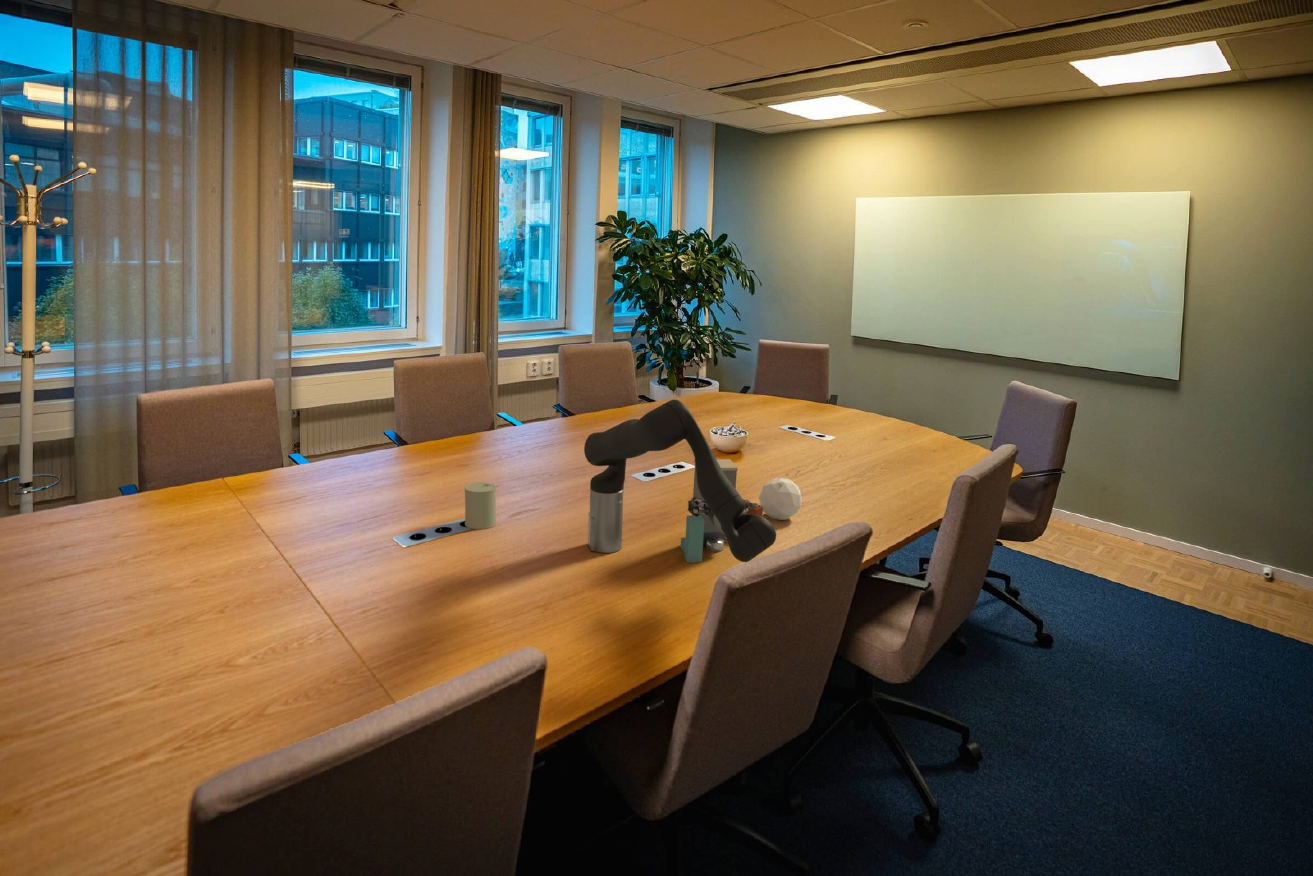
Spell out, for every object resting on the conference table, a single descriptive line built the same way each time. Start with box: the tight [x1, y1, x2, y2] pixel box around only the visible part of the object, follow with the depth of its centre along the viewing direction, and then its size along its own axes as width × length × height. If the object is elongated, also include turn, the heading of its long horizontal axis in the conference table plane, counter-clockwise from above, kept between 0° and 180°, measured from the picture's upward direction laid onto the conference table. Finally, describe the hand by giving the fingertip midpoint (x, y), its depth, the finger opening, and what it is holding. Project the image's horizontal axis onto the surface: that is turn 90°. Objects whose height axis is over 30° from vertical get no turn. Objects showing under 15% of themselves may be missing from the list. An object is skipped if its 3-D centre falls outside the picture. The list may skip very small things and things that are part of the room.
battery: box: [744, 499, 764, 517], centre depth 240 cm, size 4×7×10 cm, turn 48°
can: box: [464, 482, 497, 530], centre depth 238 cm, size 9×9×12 cm
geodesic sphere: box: [758, 476, 803, 521], centre depth 254 cm, size 14×14×14 cm
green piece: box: [679, 515, 704, 563], centre depth 222 cm, size 4×12×12 cm, turn 10°
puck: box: [705, 538, 725, 553], centre depth 228 cm, size 5×5×2 cm
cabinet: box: [691, 458, 739, 545], centre depth 226 cm, size 10×8×25 cm
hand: (710, 499), depth 205 cm, fingers open, 8 cm apart
